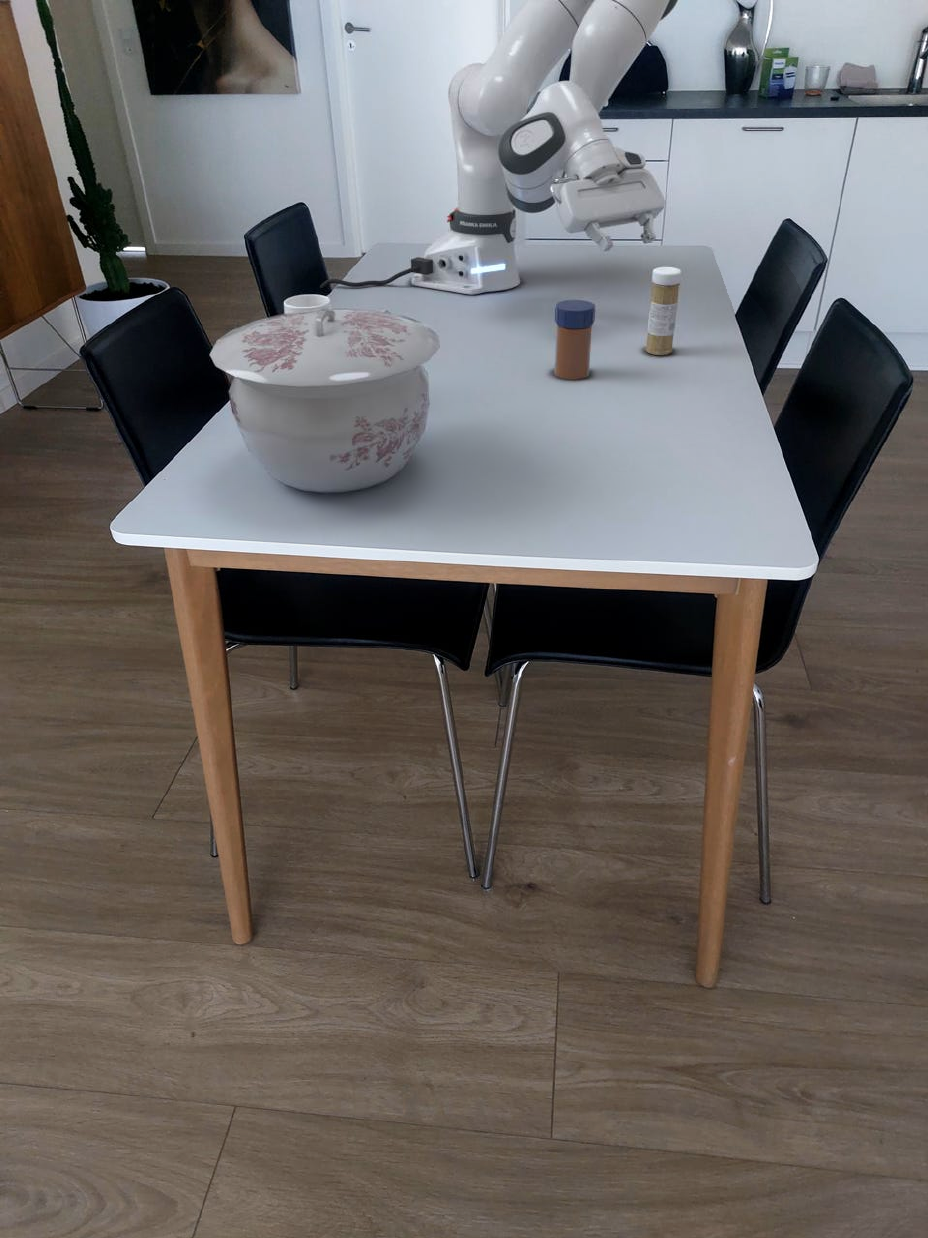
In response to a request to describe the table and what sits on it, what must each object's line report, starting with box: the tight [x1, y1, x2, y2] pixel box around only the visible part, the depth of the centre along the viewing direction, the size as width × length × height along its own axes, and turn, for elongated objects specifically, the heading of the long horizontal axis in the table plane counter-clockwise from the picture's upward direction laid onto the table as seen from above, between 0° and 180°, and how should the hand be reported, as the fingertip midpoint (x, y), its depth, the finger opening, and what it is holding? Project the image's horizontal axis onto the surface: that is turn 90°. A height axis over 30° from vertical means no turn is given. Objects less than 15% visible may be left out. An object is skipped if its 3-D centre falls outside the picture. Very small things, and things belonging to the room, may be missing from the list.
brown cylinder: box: [554, 324, 593, 381], centre depth 149 cm, size 6×6×10 cm
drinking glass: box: [283, 294, 333, 314], centre depth 139 cm, size 7×7×15 cm
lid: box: [554, 299, 596, 328], centre depth 146 cm, size 6×6×3 cm
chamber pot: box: [209, 307, 441, 494], centre depth 117 cm, size 28×28×21 cm
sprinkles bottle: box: [645, 266, 682, 356], centre depth 156 cm, size 5×5×14 cm
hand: (629, 244), depth 158 cm, fingers open, 8 cm apart
